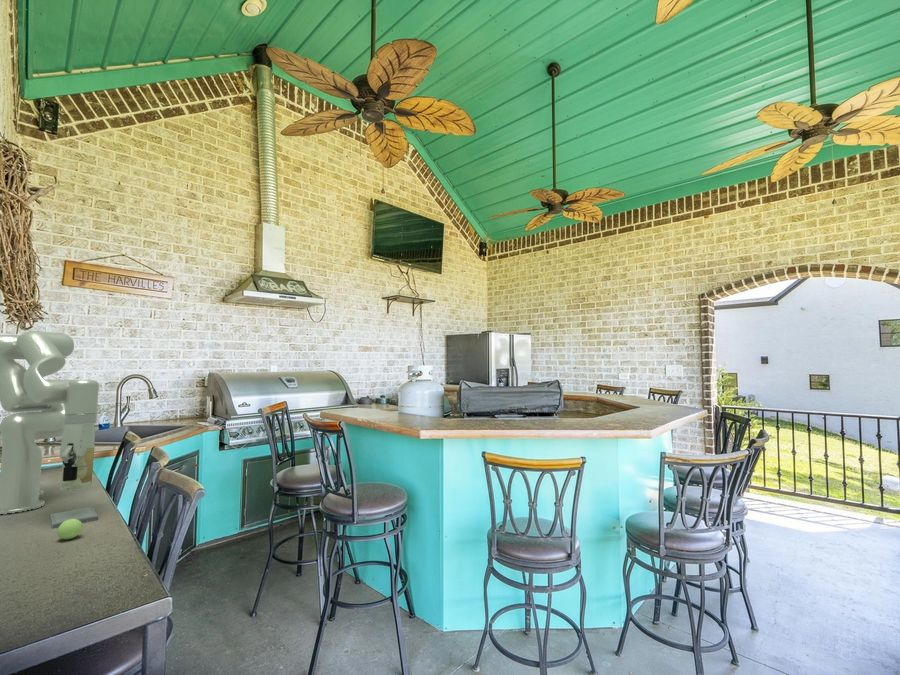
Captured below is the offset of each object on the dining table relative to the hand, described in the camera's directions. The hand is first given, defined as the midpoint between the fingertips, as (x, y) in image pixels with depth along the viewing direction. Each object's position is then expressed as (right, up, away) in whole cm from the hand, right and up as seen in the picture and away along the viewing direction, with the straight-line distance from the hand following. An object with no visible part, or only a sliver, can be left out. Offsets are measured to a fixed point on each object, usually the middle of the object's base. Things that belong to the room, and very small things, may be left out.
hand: (77, 477), depth 129 cm
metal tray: (0, -12, -1) cm, 12 cm away
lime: (+14, -11, -18) cm, 25 cm away
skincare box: (0, -4, 0) cm, 4 cm away
